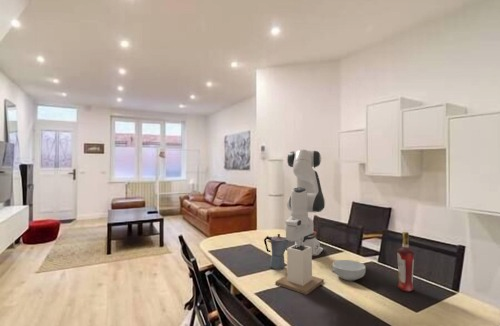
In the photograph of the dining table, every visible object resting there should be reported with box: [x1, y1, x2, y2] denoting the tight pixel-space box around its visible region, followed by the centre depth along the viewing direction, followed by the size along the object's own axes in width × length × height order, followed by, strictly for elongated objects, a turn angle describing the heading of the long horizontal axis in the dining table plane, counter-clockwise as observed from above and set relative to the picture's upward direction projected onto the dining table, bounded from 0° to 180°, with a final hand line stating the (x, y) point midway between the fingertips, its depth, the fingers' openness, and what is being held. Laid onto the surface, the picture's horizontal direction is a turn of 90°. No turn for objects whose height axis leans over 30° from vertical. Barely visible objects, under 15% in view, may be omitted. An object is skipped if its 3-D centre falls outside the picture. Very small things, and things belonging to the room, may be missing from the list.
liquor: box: [396, 231, 415, 293], centre depth 140 cm, size 7×7×28 cm
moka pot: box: [263, 233, 290, 271], centre depth 171 cm, size 10×15×20 cm, turn 78°
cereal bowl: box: [332, 259, 367, 282], centre depth 155 cm, size 17×17×7 cm
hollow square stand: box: [274, 243, 325, 295], centre depth 148 cm, size 18×18×18 cm
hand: (299, 246), depth 148 cm, fingers closed, pressing on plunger
